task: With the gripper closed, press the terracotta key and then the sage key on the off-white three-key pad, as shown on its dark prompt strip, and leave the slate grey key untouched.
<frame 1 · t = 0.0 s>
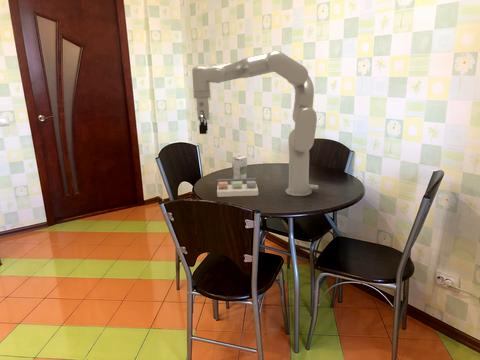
hand: (203, 132, 176), 31 cm above the table, tool pointing down, fingers open, 9 cm apart
sage key: (237, 183, 187), point 4 cm above the table, slide at 0.0 cm
grey key: (251, 183, 188), point 4 cm above the table, slide at 0.0 cm
keypad: (237, 192, 189), on the table
syrup box: (240, 183, 206), on the table
terracotta key: (223, 184, 187), point 4 cm above the table, slide at 0.0 cm
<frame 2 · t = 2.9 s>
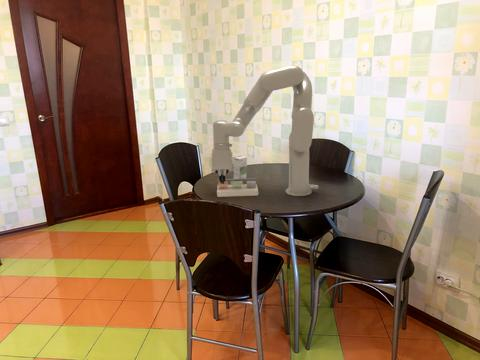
hand: (222, 182, 187), 5 cm above the table, tool pointing down, fingers closed
terracotta key: (223, 184, 187), point 4 cm above the table, slide at 0.0 cm, touching gripper
everything else where it was.
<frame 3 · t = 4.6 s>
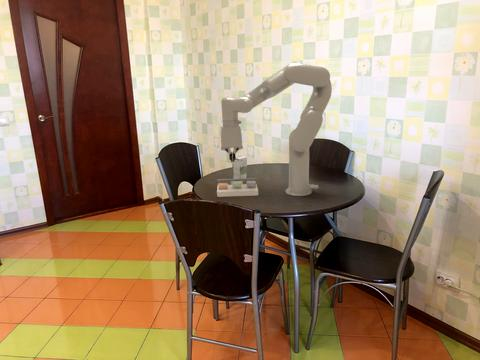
hand: (232, 161, 184), 16 cm above the table, tool pointing down, fingers closed
terracotta key: (223, 185, 187), point 4 cm above the table, slide at 0.7 cm
everything else where it was.
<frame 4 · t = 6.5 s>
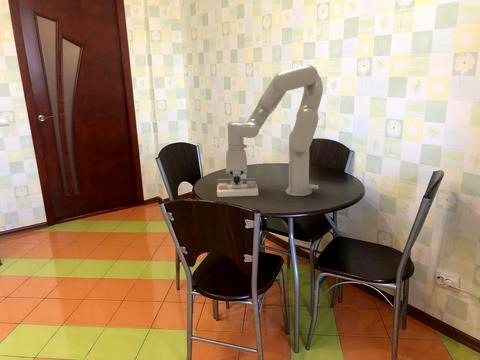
hand: (236, 183, 187), 4 cm above the table, tool pointing down, fingers closed
sage key: (237, 185, 188), point 4 cm above the table, slide at 0.7 cm, touching gripper
everything else where it was.
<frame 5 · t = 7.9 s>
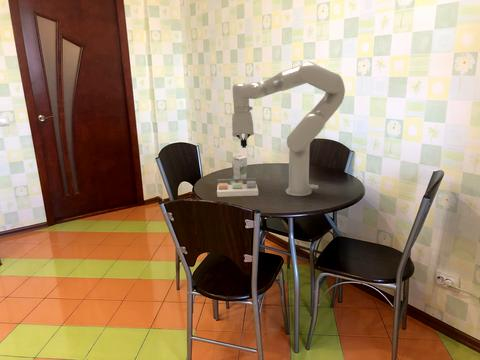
hand: (244, 147, 187), 22 cm above the table, tool pointing down, fingers closed
sage key: (237, 185, 188), point 4 cm above the table, slide at 0.8 cm
everything else where it was.
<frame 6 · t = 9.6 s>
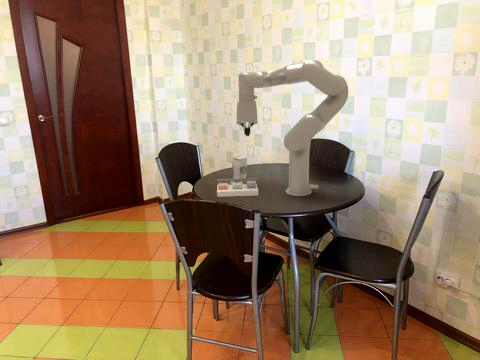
hand: (247, 135, 189), 27 cm above the table, tool pointing down, fingers closed
nothing on the table moved.
at the end: terracotta key slide at 0.7 cm; sage key slide at 0.8 cm; grey key slide at 0.0 cm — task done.
